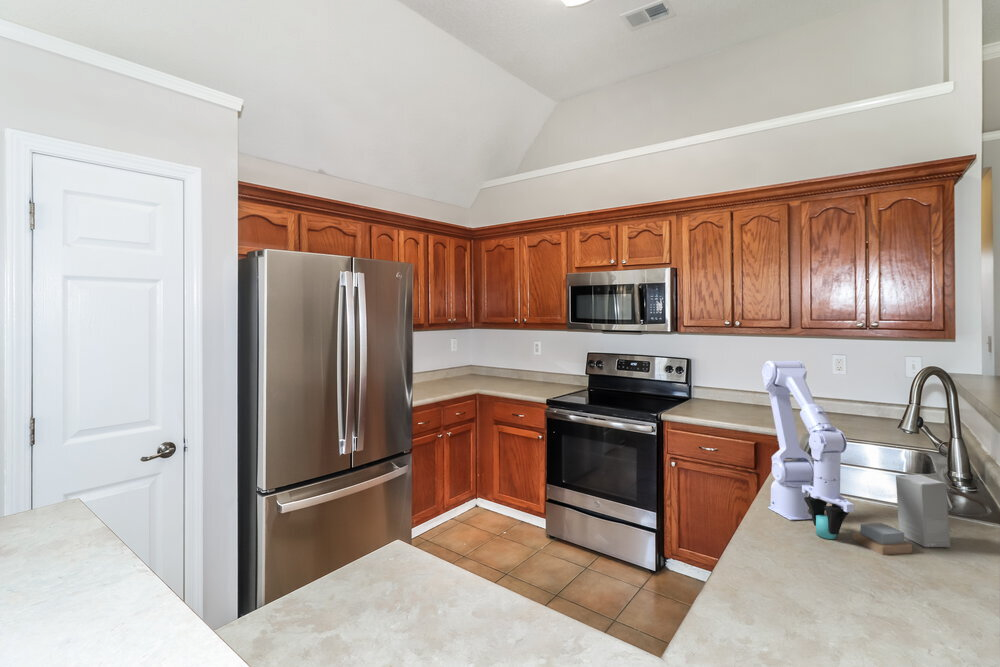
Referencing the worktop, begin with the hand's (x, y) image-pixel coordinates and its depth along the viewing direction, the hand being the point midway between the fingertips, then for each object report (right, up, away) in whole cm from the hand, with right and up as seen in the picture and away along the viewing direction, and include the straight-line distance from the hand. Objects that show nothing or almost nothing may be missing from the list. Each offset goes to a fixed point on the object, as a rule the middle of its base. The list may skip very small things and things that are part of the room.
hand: (826, 529), depth 127 cm
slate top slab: (+10, 0, -6) cm, 11 cm away
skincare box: (+22, -2, -3) cm, 22 cm away
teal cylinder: (0, -1, 0) cm, 1 cm away
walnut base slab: (+10, -2, -6) cm, 12 cm away
